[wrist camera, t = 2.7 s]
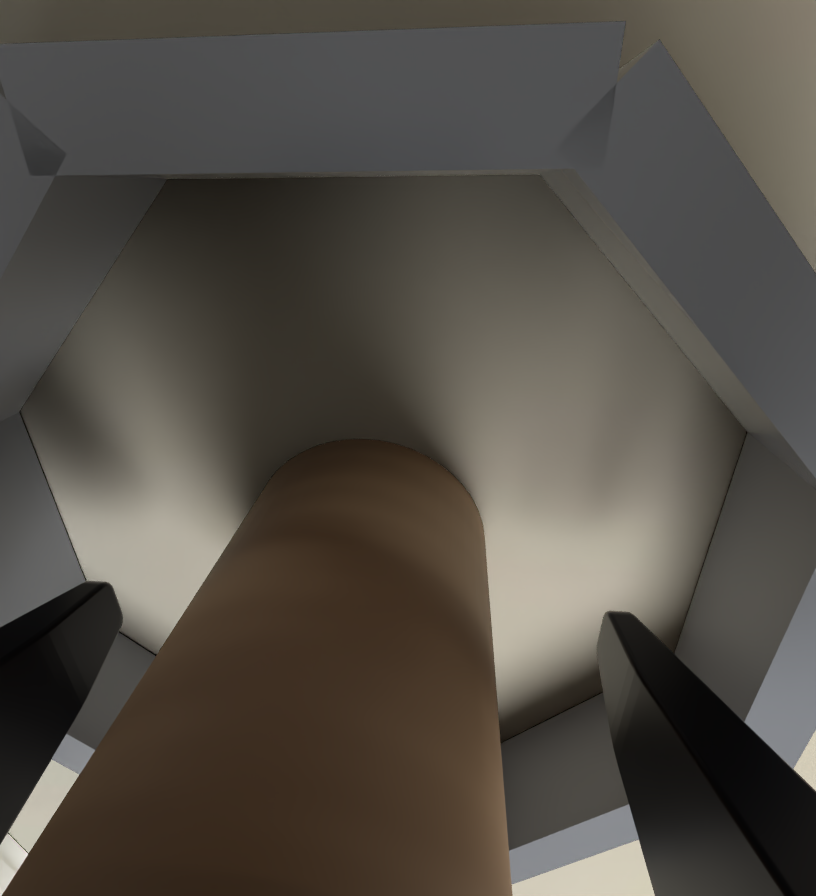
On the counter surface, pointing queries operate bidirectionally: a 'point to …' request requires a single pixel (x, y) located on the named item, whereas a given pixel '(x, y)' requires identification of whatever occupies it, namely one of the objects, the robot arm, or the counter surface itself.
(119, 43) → the holder ring
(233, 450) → the counter surface
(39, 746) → the robot arm
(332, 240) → the counter surface
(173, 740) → the walnut cylinder
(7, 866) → the foam cup
